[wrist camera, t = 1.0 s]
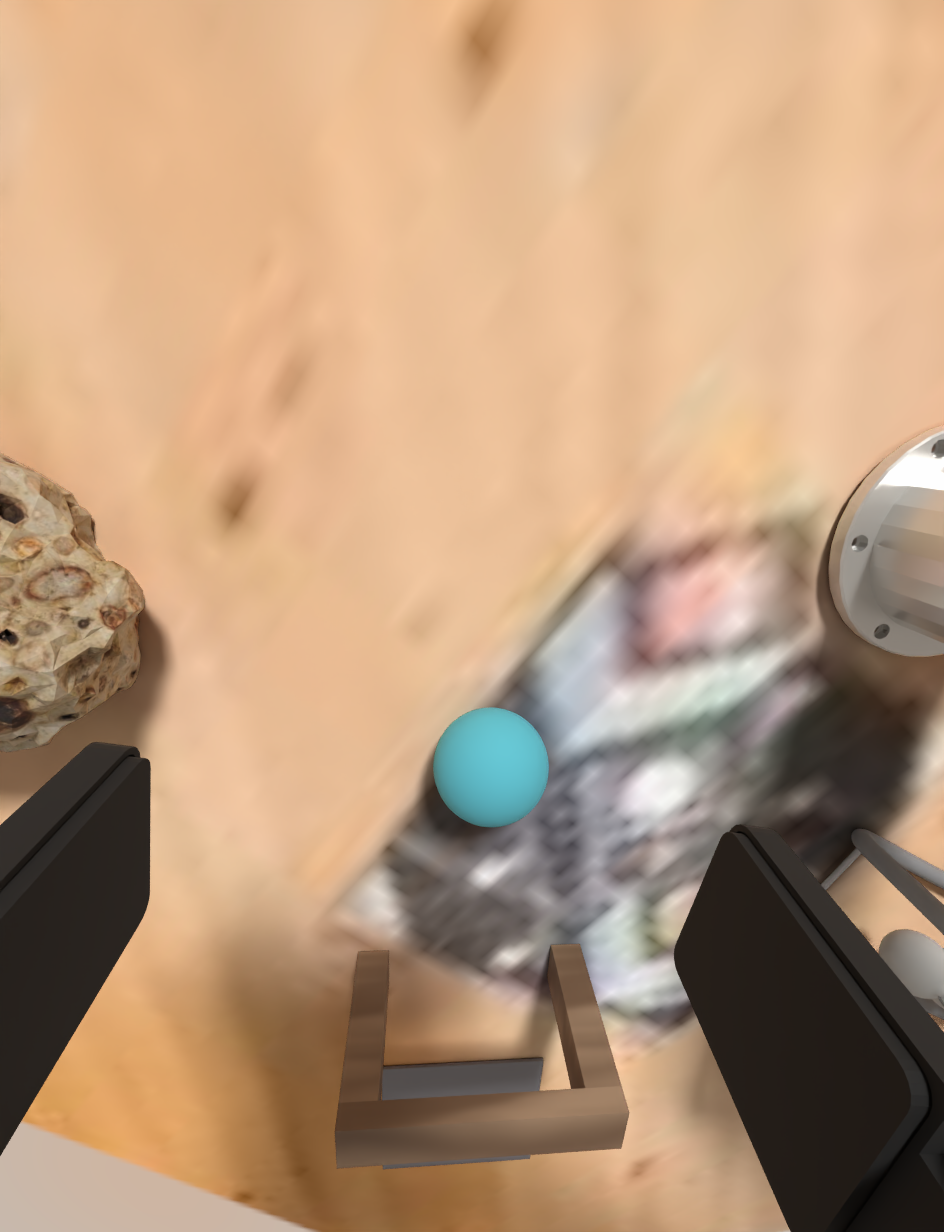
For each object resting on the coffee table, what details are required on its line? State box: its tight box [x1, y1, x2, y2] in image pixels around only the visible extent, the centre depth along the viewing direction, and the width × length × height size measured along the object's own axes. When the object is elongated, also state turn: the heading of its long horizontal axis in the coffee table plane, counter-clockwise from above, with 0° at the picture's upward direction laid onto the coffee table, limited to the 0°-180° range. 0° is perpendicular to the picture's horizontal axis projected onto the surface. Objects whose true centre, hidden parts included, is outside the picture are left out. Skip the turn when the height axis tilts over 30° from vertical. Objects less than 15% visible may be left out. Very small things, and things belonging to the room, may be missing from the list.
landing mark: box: [382, 1058, 543, 1169], centre depth 42 cm, size 12×12×1 cm
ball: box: [433, 708, 549, 827], centre depth 28 cm, size 6×6×6 cm
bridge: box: [335, 944, 629, 1168], centre depth 32 cm, size 3×15×10 cm, turn 88°
